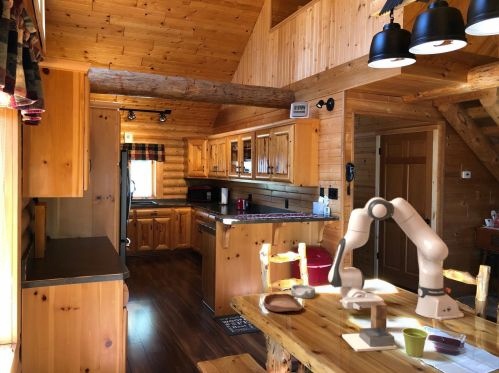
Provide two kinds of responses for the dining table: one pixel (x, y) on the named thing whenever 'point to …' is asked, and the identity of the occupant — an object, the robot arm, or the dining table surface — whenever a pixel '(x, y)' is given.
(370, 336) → the steel collar
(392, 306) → the dining table surface
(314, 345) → the dining table surface
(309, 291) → the dish
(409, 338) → the plant pot
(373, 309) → the walnut post
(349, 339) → the base plate
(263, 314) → the dining table surface
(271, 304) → the basket
